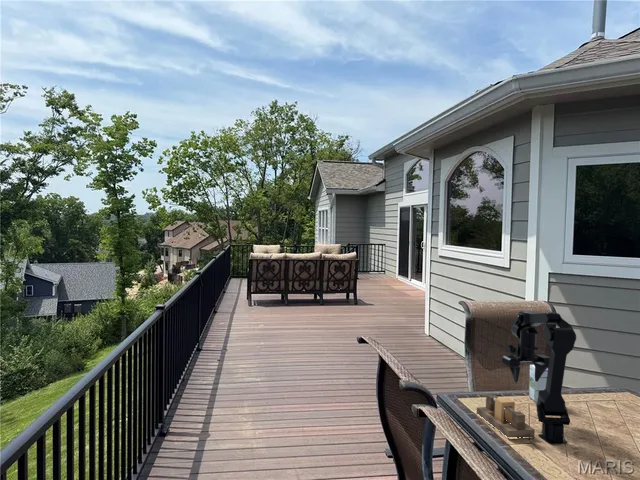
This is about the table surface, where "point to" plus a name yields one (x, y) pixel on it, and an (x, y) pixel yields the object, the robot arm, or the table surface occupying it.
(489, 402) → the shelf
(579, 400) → the table surface
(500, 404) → the clip
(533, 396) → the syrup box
